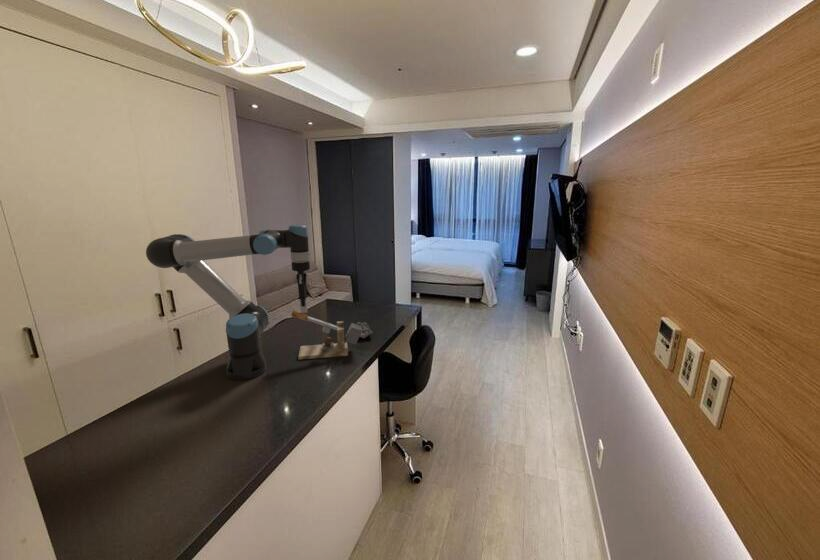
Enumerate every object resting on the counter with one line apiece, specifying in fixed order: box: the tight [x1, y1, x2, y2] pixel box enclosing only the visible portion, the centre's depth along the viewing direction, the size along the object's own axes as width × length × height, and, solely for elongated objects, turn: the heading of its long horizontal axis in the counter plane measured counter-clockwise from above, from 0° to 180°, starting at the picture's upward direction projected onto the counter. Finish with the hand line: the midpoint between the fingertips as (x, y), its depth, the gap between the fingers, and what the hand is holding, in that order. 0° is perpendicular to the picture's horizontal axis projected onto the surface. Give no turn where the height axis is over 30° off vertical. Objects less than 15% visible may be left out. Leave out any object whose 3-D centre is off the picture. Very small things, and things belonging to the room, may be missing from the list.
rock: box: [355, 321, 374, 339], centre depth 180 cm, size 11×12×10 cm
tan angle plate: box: [297, 320, 349, 360], centre depth 160 cm, size 22×11×13 cm, turn 102°
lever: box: [291, 309, 362, 345], centre depth 158 cm, size 32×6×8 cm, turn 102°
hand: (304, 312), depth 155 cm, fingers closed
